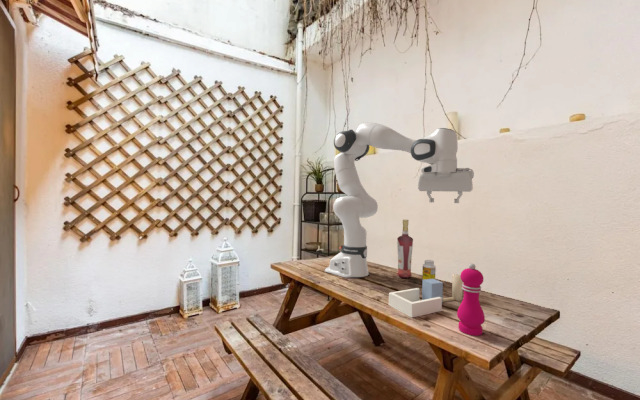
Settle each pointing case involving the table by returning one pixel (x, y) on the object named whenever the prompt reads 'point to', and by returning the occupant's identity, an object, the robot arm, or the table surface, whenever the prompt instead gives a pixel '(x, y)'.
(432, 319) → the table surface
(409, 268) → the liquor
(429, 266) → the supplement bottle
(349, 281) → the table surface
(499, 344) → the table surface
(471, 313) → the pepper mill
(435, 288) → the block
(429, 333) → the table surface
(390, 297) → the white u-shaped wall
